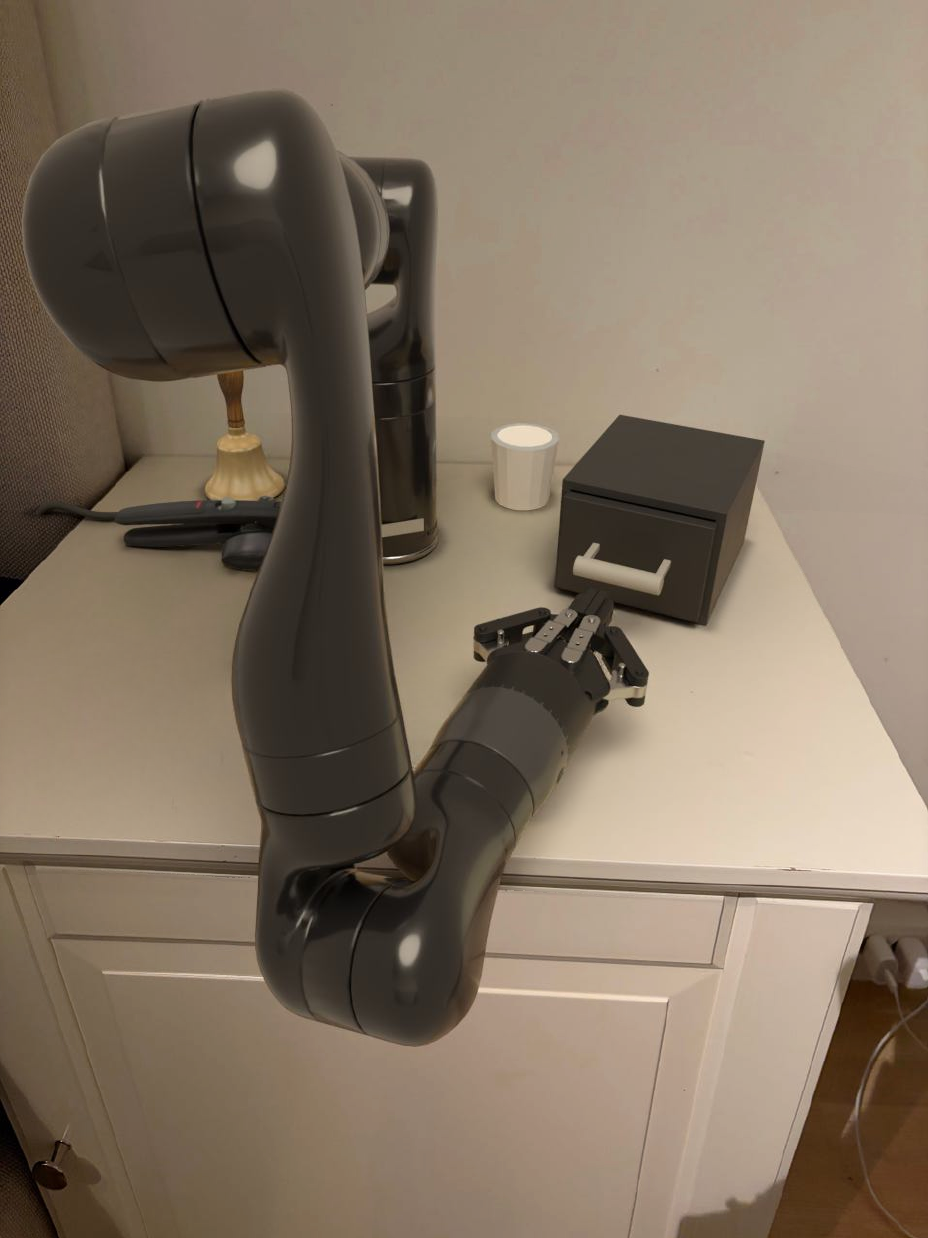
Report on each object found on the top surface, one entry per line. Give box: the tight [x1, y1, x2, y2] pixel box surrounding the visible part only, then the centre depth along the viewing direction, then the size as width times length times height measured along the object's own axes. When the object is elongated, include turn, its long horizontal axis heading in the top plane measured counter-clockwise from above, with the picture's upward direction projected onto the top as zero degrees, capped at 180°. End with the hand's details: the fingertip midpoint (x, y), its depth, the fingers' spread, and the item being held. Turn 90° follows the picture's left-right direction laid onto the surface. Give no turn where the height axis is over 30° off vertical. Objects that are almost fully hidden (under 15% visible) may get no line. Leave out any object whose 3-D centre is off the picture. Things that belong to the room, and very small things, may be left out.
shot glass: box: [490, 422, 560, 512], centre depth 95 cm, size 7×7×7 cm
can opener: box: [114, 495, 282, 571], centre depth 86 cm, size 18×7×6 cm, turn 80°
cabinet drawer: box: [557, 491, 718, 622], centre depth 80 cm, size 19×12×9 cm, turn 155°
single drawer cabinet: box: [553, 414, 766, 626], centre depth 83 cm, size 16×14×11 cm
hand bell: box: [204, 370, 286, 501], centre depth 93 cm, size 8×8×16 cm
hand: (598, 600), depth 69 cm, fingers closed
